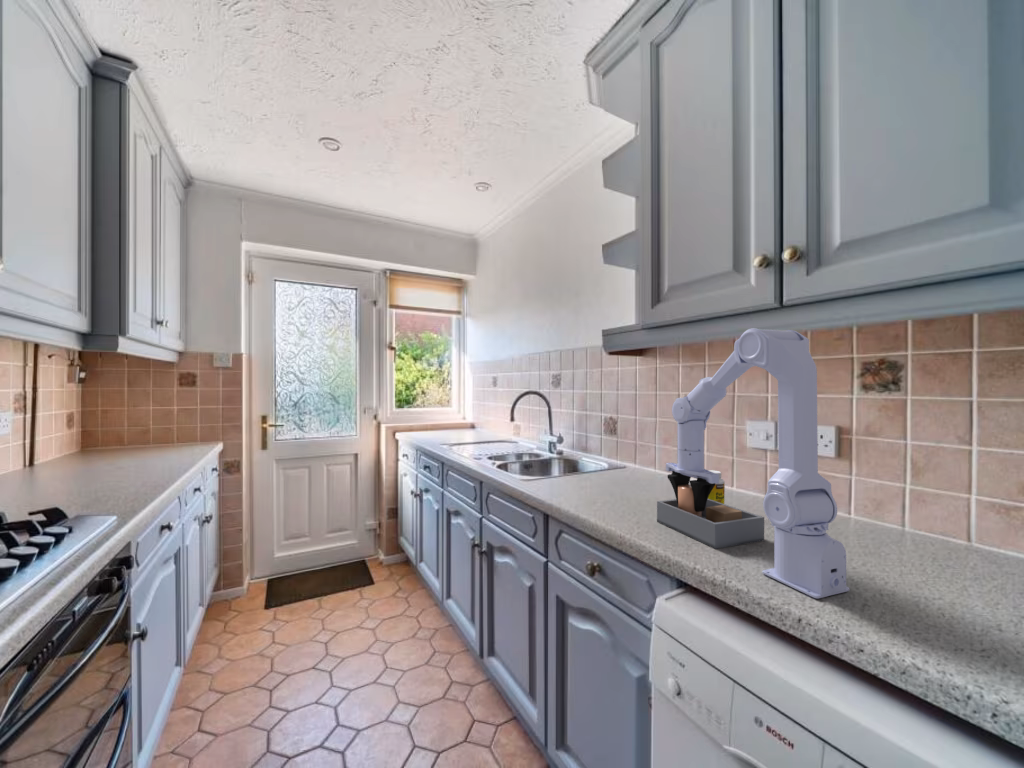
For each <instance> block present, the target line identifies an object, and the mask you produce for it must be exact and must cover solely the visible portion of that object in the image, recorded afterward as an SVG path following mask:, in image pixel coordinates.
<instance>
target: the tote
mask: <svg viewBox="0 0 1024 768" xmlns="http://www.w3.org/2000/svg"><path fill="white" fill-rule="evenodd" d="M720 505H724V506H727V507H730V508H733V509H736V510H739V511H742V519H738V520H731V521H723V522H716V523H714V522H712V521H709V520H707V519H706V507H712V506H720ZM656 522H657V523H659V524H661V525H663V526H665V527H667V528H669V529H672V530H674V531H676V532H678V533H680V534H682V535H684V536H687V537H688V538H691V539H693V540H694V541H696V542H699V543H701V544H703V545H706V546H707V547H710V548H712V549H714V550H716V549H717V550H718V549H723V548H729V547H735V546H739V545H746V544H753V543H759V542H765V517H764V516H761V515H758V514H755V513H752V512H749V511H746V510H744V509H741V508H736V507H734V506H731V505H729V504H726V503H724V504H722V503H719V502H716V501H713V500H710V499H707V502H706V506H705V509H704V511H702V517H699V516H697V515H694V514H692V513H689V512H687V511H684V510H681V509H679V508H678V504H677V500H676V498H675V499H666V500H665V499H664V500H658V501H656Z"/></svg>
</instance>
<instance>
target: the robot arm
mask: <svg viewBox="0 0 1024 768" xmlns="http://www.w3.org/2000/svg"><path fill="white" fill-rule="evenodd" d="M733 345H734V347H733V351H732V352H731V353H730V355H729V356H728V358H726V360H725V361H724V362H723V364H722V365H721V366H720V367H719V368H718V370H717V371H716V372H715V374H714V375H713V376H712V377H711V376H707V377H704V378H703V377H702V378H700V379H699V381H698V384H697V385H696V386H695V387H694V388H693V389H692V390H691V391H690V392H689V393H688V394H687V395H686V396H683V397H677V398H675V399H674V402H673V403H672V406H671V414H672V418H673V419H674V421H676V422H677V436H676V437H677V440H676V441H677V449H676V452H677V454H676V455H677V461H676V463H675V462H666V463H665V471H666V472H671V473H669V474H667V479H668V481H669V482H670V484H671V487H672V488H673V493H674V496H675V499H676V500H677V504H678V486H679V485H684V484H688V485H691V487H692V491H693V496H694V508H695V511H696V512H701V511H704V509H705V506H706V502H707V499H708V497H709V494H710V492H711V491H712V489H713V488H714V486H715V483H719V474H716V473H713V472H710V471H708V470H709V469H706V468H705V430H706V429H707V422H708V420H709V419H710V416H711V410H712V409H713V408H714V407H715V406H716V405H717V404H719V403H720V402H721V401H722V400H723V399H724V398H726V396H727V392H728V391H727V388H728V387H729V386H730V385H732V383H734V382H735V381H737V380H738V379H739V378H740V377H742V376H743V375H744V374H745V373H746V372H748V370H750V369H751V368H753V367H757V368H760V369H763V370H765V371H766V372H768V373H769V374H770V375H771V376H773V377H774V378H775V379H776V380H777V400H778V401H777V420H778V421H777V424H778V425H777V426H778V427H777V430H778V431H777V432H778V433H777V434H778V435H777V436H778V437H777V439H778V444H777V445H778V469H777V471H776V472H775V473H773V474H772V476H771V477H770V478H769V480H768V481H767V490H766V494H765V495H764V498H763V503H762V505H763V511H764V513H765V516H766V517H767V519H768V520H769V522H770V525H771V526H772V527H774V529H773V530H774V531H773V532H774V534H773V535H774V540H773V541H774V546H773V547H774V548H773V549H774V550H773V551H774V553H773V555H774V558H773V561H774V565H773V566H774V567H772V568H771V567H770V568H767V569H763V570H761V573H762V574H763V575H765V576H767V577H769V578H771V579H774V580H775V581H778V582H780V583H782V584H784V585H786V586H788V587H790V588H792V589H795V590H796V591H799V592H801V593H803V594H806V595H807V596H810V597H811V598H813V599H823V598H826V597H829V596H830V597H831V596H834V595H837V594H842V593H846V592H850V587H849V586H847V552H846V547H845V546H844V544H843V543H842V542H841V541H839V540H838V539H835V538H833V537H831V536H830V535H829V534H828V533H827V531H829V524H830V523H832V522H834V521H835V519H836V518H837V515H838V505H837V502H836V500H835V498H834V496H833V492H832V483H831V482H830V481H829V480H827V479H826V478H825V477H823V476H822V475H821V473H819V464H818V463H819V460H818V459H819V458H818V457H819V455H818V453H819V452H818V451H819V448H818V446H819V445H818V369H817V365H816V363H815V360H814V359H813V357H812V355H811V354H812V353H810V339H809V338H808V337H807V336H805V335H803V334H801V333H800V332H798V331H797V330H794V329H786V330H785V329H784V330H783V329H781V330H779V329H764V328H763V329H761V328H756V327H752V328H748V329H747V330H745V331H744V332H743V333H742V334H741V335H740V337H739V338H738V339H736V340H735V342H734V344H733ZM692 478H693V480H691V479H692Z"/></svg>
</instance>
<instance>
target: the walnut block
mask: <svg viewBox="0 0 1024 768" xmlns="http://www.w3.org/2000/svg"><path fill="white" fill-rule="evenodd" d="M706 519H707V520H709V521H712V522H714V523H716V522H723V521H731V520H738V519H742V511H739V510H736V509H733V508H730V507H727V506H724V505H720V506H712V507H706Z"/></svg>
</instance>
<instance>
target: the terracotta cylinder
mask: <svg viewBox="0 0 1024 768" xmlns="http://www.w3.org/2000/svg"><path fill="white" fill-rule="evenodd" d="M678 508H679V509H681V510H684V511H687V512H689V513H692V514H694V515H697V516H699V517H702V511H701V512H696V511H695V508H694V496H693V491H692V487H691V485H690V484H689V485H688V484H684V485H679V486H678Z"/></svg>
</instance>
